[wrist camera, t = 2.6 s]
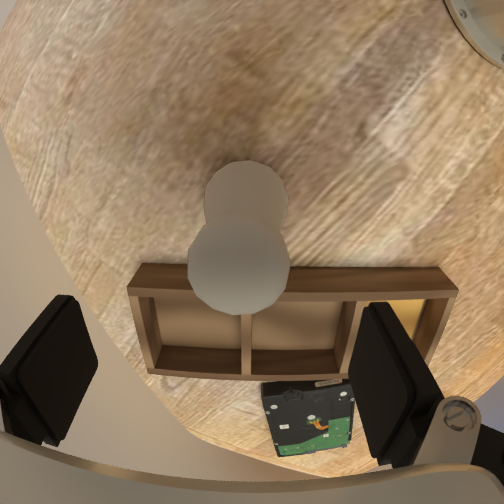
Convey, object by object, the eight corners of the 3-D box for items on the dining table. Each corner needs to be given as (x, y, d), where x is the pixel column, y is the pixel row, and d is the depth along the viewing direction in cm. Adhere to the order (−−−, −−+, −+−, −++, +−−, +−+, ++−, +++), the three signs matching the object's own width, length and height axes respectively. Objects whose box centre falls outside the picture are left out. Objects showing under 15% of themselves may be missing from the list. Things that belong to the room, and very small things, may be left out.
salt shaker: (214, 231, 25) (179, 340, 14) (203, 160, 23) (146, 218, 11) (288, 224, 25) (312, 332, 13) (282, 152, 23) (309, 202, 11)
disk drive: (258, 379, 34) (277, 443, 40) (258, 398, 31) (277, 459, 37) (351, 364, 33) (348, 432, 39) (356, 382, 30) (352, 447, 36)
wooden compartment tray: (142, 263, 27) (126, 287, 23) (439, 267, 26) (458, 289, 23) (158, 348, 31) (148, 375, 27) (412, 347, 31) (425, 372, 27)
